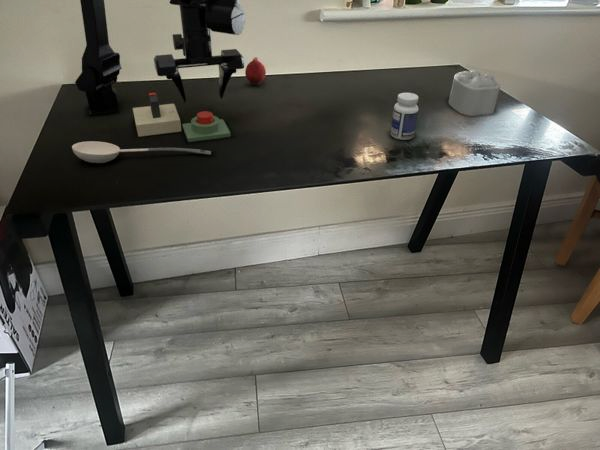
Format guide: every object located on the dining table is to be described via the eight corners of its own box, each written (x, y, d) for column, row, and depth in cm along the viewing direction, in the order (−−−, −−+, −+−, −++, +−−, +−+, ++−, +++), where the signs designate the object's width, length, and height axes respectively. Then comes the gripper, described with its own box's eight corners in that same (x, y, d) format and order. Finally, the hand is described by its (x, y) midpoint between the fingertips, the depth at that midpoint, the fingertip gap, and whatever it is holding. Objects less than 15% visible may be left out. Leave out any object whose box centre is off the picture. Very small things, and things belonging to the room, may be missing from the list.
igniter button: (199, 126, 113) (198, 118, 112) (196, 119, 116) (195, 112, 115) (214, 124, 114) (213, 116, 113) (211, 118, 117) (210, 110, 116)
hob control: (138, 136, 114) (135, 124, 112) (134, 119, 121) (132, 107, 119) (181, 131, 117) (180, 119, 115) (175, 114, 124) (174, 102, 122)
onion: (265, 89, 139) (264, 61, 135) (244, 88, 139) (243, 60, 135) (266, 81, 144) (266, 54, 139) (246, 81, 144) (245, 53, 139)
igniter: (188, 142, 112) (186, 130, 110) (182, 127, 118) (181, 116, 116) (230, 136, 115) (230, 125, 113) (223, 122, 121) (222, 111, 119)
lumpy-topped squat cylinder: (463, 116, 128) (471, 84, 123) (440, 97, 138) (446, 67, 133) (498, 113, 130) (507, 81, 125) (473, 95, 140) (480, 65, 135)
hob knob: (161, 117, 115) (158, 100, 113) (153, 118, 115) (150, 101, 112) (158, 109, 119) (155, 92, 117) (150, 109, 119) (148, 93, 116)
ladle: (75, 153, 105) (74, 132, 103) (208, 164, 112) (210, 145, 110) (70, 166, 100) (68, 145, 98) (209, 177, 108) (211, 157, 105)
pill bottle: (415, 132, 120) (422, 93, 114) (411, 142, 115) (419, 102, 109) (392, 128, 121) (398, 89, 115) (387, 138, 117) (393, 98, 111)
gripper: (230, 16, 111) (234, 83, 120) (146, 21, 106) (157, 91, 115) (243, 29, 103) (246, 100, 112) (152, 35, 97) (163, 109, 107)
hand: (203, 99), depth 112 cm, fingers open, 8 cm apart
